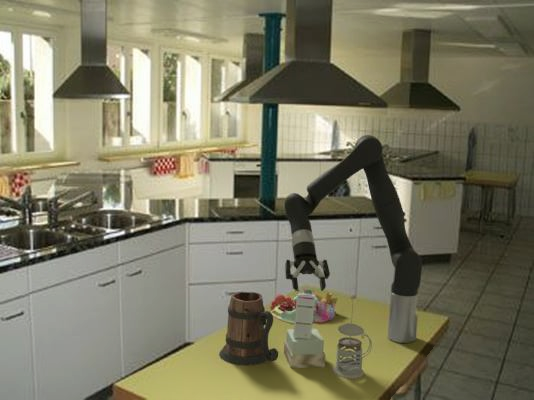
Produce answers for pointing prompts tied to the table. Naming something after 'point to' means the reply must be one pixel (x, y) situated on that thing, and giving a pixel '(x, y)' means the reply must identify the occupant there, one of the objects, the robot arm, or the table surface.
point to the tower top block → (305, 343)
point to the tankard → (248, 331)
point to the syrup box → (304, 314)
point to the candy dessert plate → (287, 311)
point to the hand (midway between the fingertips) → (309, 289)
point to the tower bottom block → (304, 359)
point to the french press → (348, 365)
